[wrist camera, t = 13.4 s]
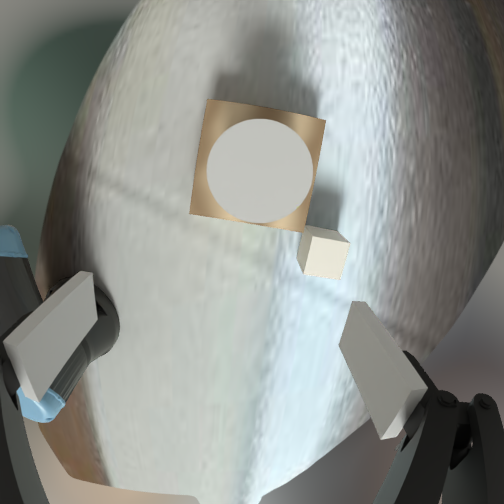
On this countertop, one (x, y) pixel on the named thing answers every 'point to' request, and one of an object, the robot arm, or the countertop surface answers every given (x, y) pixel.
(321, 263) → the cream block
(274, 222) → the oak block
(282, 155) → the grey cylinder
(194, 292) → the countertop surface
